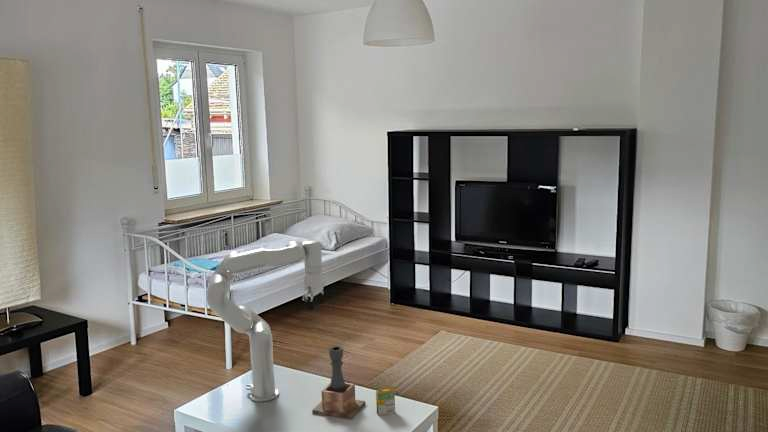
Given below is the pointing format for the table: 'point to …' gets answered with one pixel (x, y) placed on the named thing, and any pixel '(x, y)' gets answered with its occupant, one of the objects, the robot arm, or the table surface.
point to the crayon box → (385, 401)
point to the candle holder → (337, 369)
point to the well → (339, 403)
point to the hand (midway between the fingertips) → (315, 306)
